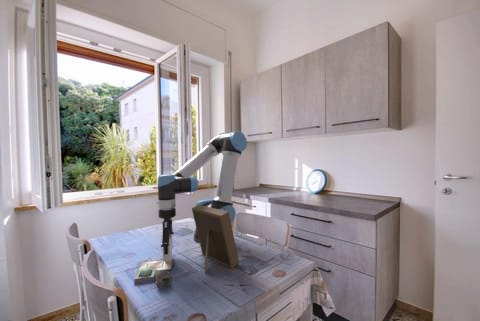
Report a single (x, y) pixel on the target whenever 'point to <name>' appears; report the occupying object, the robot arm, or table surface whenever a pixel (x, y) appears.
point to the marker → (170, 249)
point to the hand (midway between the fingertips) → (168, 254)
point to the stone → (163, 278)
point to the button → (145, 272)
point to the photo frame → (215, 235)
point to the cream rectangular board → (157, 265)
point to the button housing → (145, 277)
